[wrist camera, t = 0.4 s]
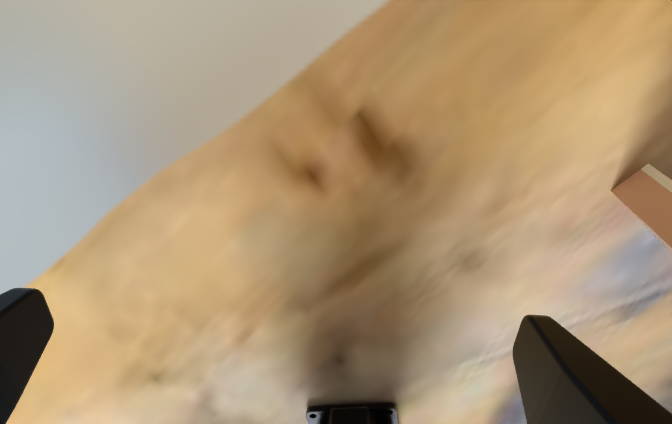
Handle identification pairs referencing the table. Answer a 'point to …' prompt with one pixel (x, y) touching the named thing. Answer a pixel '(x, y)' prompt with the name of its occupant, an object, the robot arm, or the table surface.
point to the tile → (649, 201)
